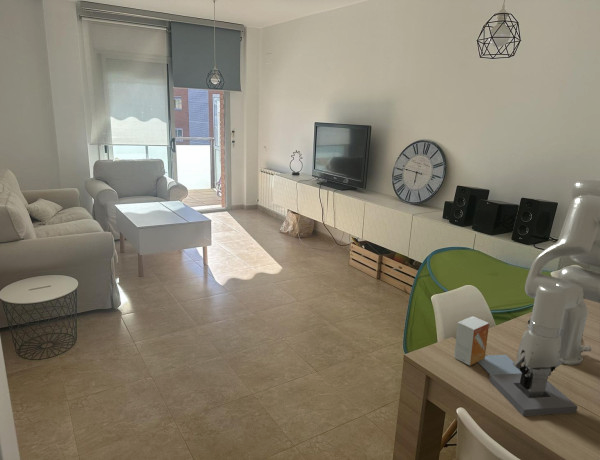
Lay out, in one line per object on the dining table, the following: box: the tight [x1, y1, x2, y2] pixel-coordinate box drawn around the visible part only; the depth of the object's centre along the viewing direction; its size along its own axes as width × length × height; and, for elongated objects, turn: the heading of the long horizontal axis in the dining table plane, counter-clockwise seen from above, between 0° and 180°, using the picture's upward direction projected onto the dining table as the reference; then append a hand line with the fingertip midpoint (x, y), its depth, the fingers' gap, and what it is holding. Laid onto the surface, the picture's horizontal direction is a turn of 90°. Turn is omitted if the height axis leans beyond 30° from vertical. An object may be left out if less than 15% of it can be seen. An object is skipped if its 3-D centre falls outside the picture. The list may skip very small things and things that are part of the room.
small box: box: [453, 315, 490, 366], centre depth 141 cm, size 8×6×13 cm
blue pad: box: [477, 354, 522, 376], centre depth 139 cm, size 12×12×1 cm
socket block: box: [488, 373, 578, 417], centre depth 124 cm, size 16×16×2 cm
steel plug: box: [519, 367, 550, 398], centre depth 123 cm, size 4×4×10 cm
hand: (532, 385), depth 124 cm, fingers closed on steel plug, 4 cm apart
